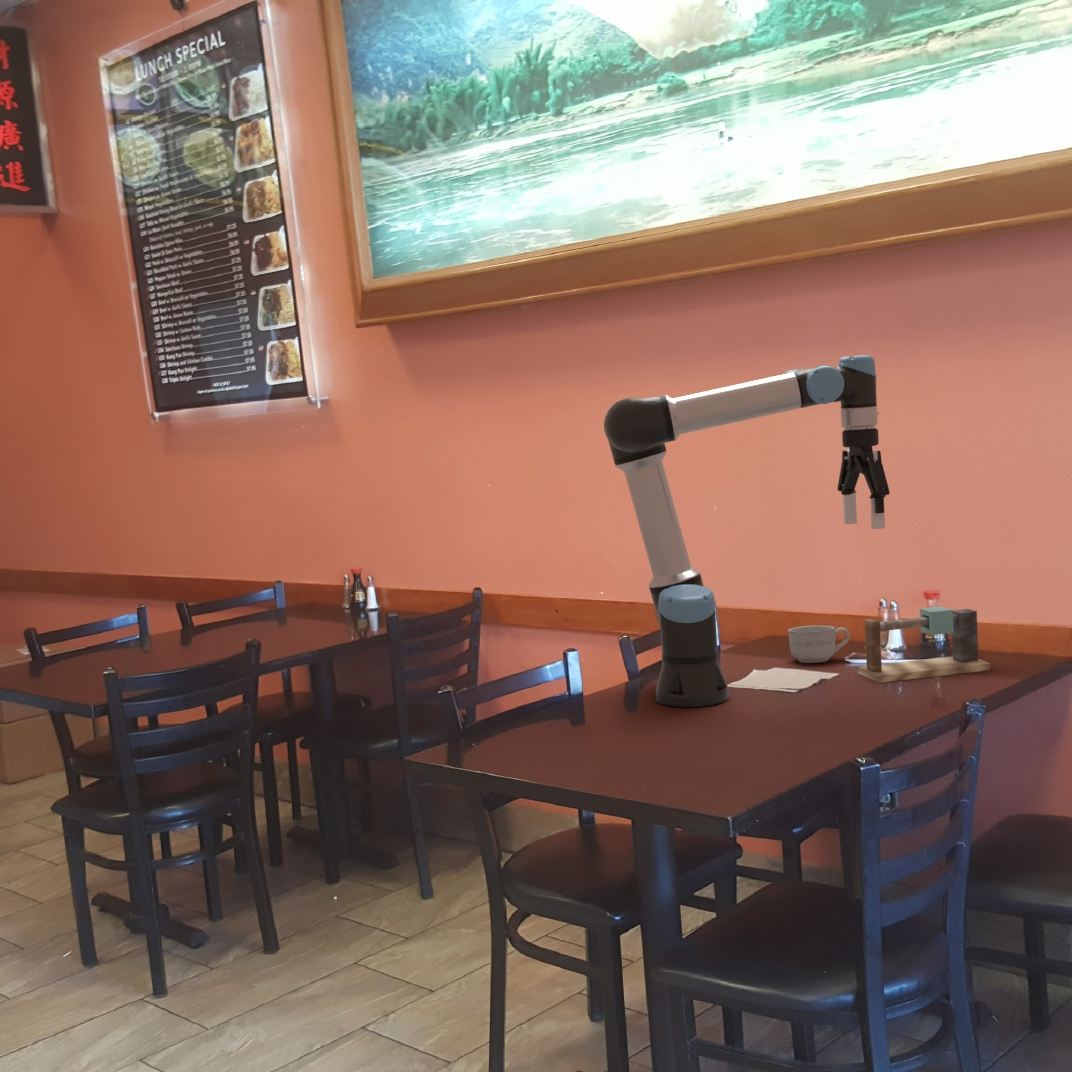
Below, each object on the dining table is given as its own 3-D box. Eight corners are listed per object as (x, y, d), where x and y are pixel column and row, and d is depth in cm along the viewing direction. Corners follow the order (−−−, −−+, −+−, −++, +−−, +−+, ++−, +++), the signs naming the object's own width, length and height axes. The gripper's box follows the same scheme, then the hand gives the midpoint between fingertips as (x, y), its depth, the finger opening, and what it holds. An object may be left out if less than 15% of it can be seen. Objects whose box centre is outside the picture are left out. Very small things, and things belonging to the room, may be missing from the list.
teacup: (787, 666, 277) (785, 632, 276) (791, 656, 287) (790, 623, 286) (849, 666, 273) (848, 631, 272) (851, 656, 283) (850, 622, 282)
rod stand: (878, 682, 255) (876, 624, 253) (858, 673, 264) (855, 617, 263) (990, 670, 259) (989, 613, 258) (966, 661, 269) (964, 606, 268)
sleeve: (932, 635, 259) (931, 612, 258) (920, 631, 263) (919, 608, 263) (953, 632, 259) (952, 609, 259) (941, 628, 264) (940, 606, 264)
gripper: (903, 426, 246) (907, 529, 248) (851, 427, 270) (855, 520, 272) (869, 429, 245) (873, 532, 247) (819, 429, 269) (824, 523, 271)
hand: (864, 526), depth 260 cm, fingers open, 13 cm apart
